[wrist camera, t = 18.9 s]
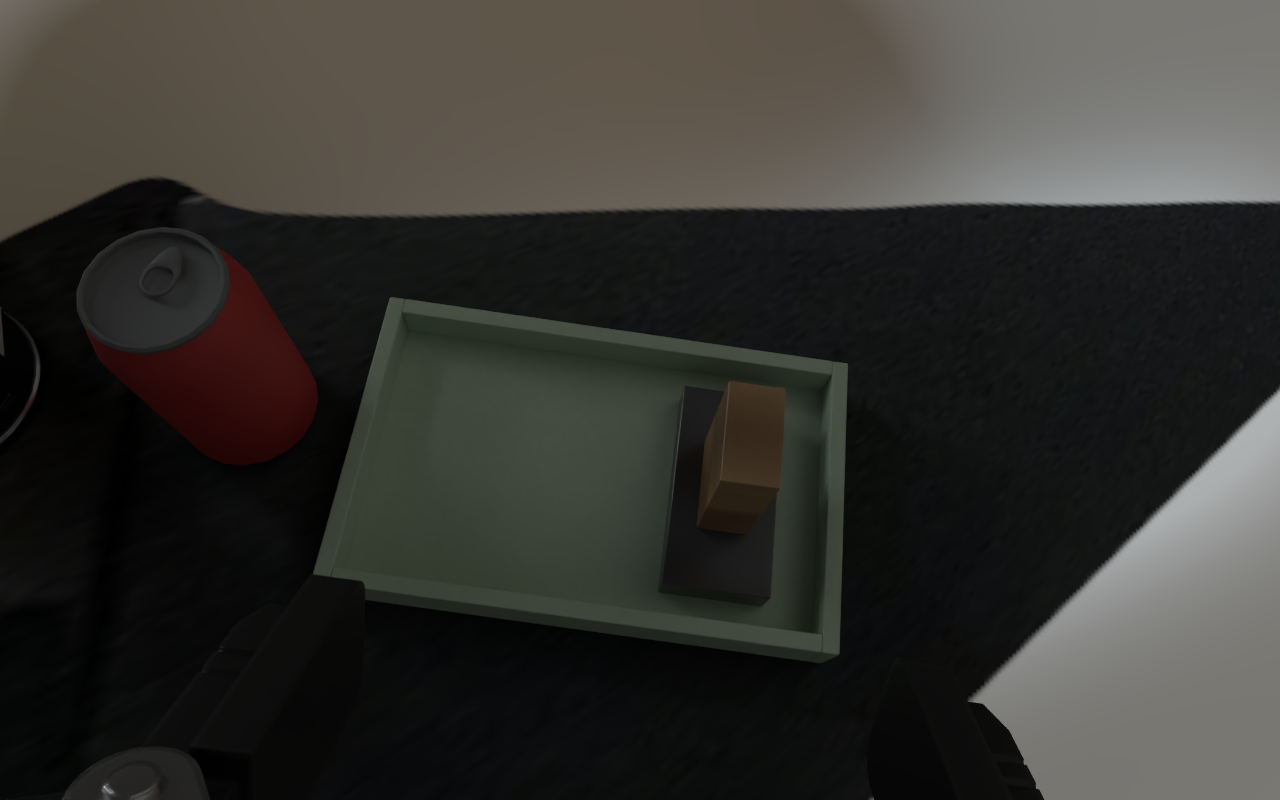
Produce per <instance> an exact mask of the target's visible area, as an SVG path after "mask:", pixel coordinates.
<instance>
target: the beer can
mask: <svg viewBox="0 0 1280 800" xmlns="http://www.w3.org/2000/svg"><path fill="white" fill-rule="evenodd" d="M77 312H78V314H79V317H80V319H81V321H82V323H83V325H84V328H85V329H86V332H87V334H88V337H89V339H90V341H91V343H92V345H93V348H94V350H95V352H96V354H97V356H98V358H99V360H100V362H101V363H102V364H104V365H105V366H106V367H107V368H108V369H109V370H110V371H111V372H112V373H113V374H114V375H115V376H117V377H118V378H119V379H120V380H121V381H122V382H123V383H124V384H125V385H127V386H128V387H129V388H130V389H131V390H132V391H133V392H134V393H136V394H137V395H138V396H139V397H140V398H141V399H142V400H143V401H145V402H146V403H147V404H148V405H149V406H150V407H151V408H152V409H153V410H155V411H156V412H157V413H158V414H159V415H160V416H161V417H162V418H164V419H165V420H166V421H167V422H168V423H169V424H170V425H171V426H172V427H174V428H175V429H176V430H177V431H178V432H179V433H180V434H181V435H183V436H184V437H185V438H186V439H187V440H188V441H189V442H190V443H191V444H193V445H194V446H195V447H196V448H197V449H198V450H199V451H200V452H202V453H203V454H204V455H205V456H207V457H209V458H212V459H214V460H217V461H219V462H221V463H224V464H235V465H250V464H254V463H259V462H264V461H269V460H271V459H273V458H274V457H276V456H278V455H280V454H282V453H284V452H286V451H288V450H289V449H290V448H291V447H292V446H293V445H295V444H296V443H297V442H298V441H299V440H300V439H301V438H302V437H303V436H304V434H305V433H306V431H307V429H308V428H309V426H310V424H311V423H312V421H313V419H314V417H315V412H316V408H317V404H318V392H317V385H316V380H315V379H314V377H313V375H312V373H311V371H310V369H309V368H308V366H307V364H306V363H305V361H304V359H303V358H302V356H301V355H300V353H299V351H298V350H297V348H296V347H295V345H294V343H293V342H292V340H291V339H290V337H289V336H288V334H287V332H286V331H285V329H284V328H283V326H282V324H281V323H280V321H279V320H278V318H277V316H276V315H275V313H274V312H273V310H272V308H271V307H270V305H269V304H268V302H267V301H266V299H265V297H264V296H263V294H262V293H261V291H260V289H259V288H258V286H257V285H256V283H255V281H254V280H253V278H252V277H251V275H250V273H249V272H248V271H247V270H246V269H245V268H243V267H242V266H241V265H240V264H239V263H237V262H236V261H235V260H234V259H233V258H231V257H230V256H229V255H228V254H226V253H225V252H224V251H222V250H220V249H218V248H216V247H215V246H214V245H213V244H212V243H210V242H209V241H208V240H207V239H206V238H204V237H203V236H200V235H197V234H195V233H192V232H190V231H187V230H185V229H174V228H163V227H161V228H155V229H149V230H143V231H138V232H135V233H133V234H131V235H128V236H126V237H123V238H121V239H119V240H116V241H115V242H114V243H112V244H111V245H110V246H108V247H107V248H106V249H104V250H103V251H102V252H100V253H99V254H98V255H97V256H96V257H95V258H94V260H93V261H92V262H91V263H90V265H89V266H88V267H87V269H86V270H85V271H84V273H83V276H82V278H81V281H80V284H79V286H78V289H77Z"/></svg>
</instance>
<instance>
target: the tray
mask: <svg viewBox="0 0 1280 800" xmlns="http://www.w3.org/2000/svg"><path fill="white" fill-rule="evenodd" d="M847 375H848V364H846V363H839V362H833V363H832V361H825V360H819V359H812V358H805V357H798V356H791V355H784V354H778V353H771V352H764V351H757V350H750V349H743V348H736V347H730V346H723V345H716V344H709V343H702V342H695V341H689V340H682V339H675V338H668V337H661V336H654V335H647V334H641V333H634V332H627V331H620V330H613V329H606V328H600V327H593V326H586V325H579V324H572V323H565V322H559V321H552V320H545V319H538V318H531V317H524V316H517V315H511V314H504V313H497V312H490V311H483V310H476V309H470V308H463V307H456V306H449V305H442V304H435V303H428V302H422V301H415V300H408V299H406V300H404V299H399V298H393V297H391V298H390V300H389V303H388V307H387V310H386V314H385V318H384V321H383V325H382V328H381V332H380V336H379V339H378V343H377V346H376V350H375V353H374V357H373V361H372V364H371V368H370V371H369V375H368V379H367V382H366V386H365V389H364V393H363V396H362V400H361V404H360V407H359V411H358V414H357V418H356V422H355V425H354V429H353V432H352V436H351V439H350V443H349V447H348V450H347V454H346V457H345V461H344V465H343V468H342V472H341V475H340V479H339V482H338V486H337V490H336V493H335V497H334V500H333V504H332V508H331V511H330V515H329V518H328V522H327V525H326V529H325V533H324V536H323V540H322V543H321V547H320V551H319V554H318V558H317V561H316V565H315V568H314V572H313V574H315V575H322V576H329V577H336V578H343V579H351V580H358V581H362V582H363V583H364V585H365V600H370V601H378V602H385V603H392V604H399V605H406V606H414V607H421V608H428V609H435V610H442V611H449V612H457V613H464V614H471V615H478V616H485V617H493V618H500V619H507V620H514V621H521V622H528V623H536V624H543V625H550V626H557V627H564V628H572V629H579V630H586V631H593V632H600V633H607V634H615V635H622V636H629V637H636V638H643V639H651V640H658V641H665V642H672V643H679V644H686V645H694V646H701V647H708V648H715V649H722V650H730V651H737V652H744V653H751V654H758V655H766V656H773V657H780V658H787V659H794V660H801V661H809V662H816V663H823V662H825V661H827V660H829V659H831V658H833V657H835V656H838V655H839V649H840V614H841V580H842V546H843V512H844V478H845V444H846V409H847ZM729 381H736V382H743V383H750V384H757V385H764V386H771V387H778V388H785V389H786V401H785V418H784V435H783V452H782V468H781V485H780V490H779V491H778V492H777V502H776V518H775V535H774V551H773V568H772V584H771V598H770V599H769V600H768V601H767V602H766V603H765V604H764V605H763V606H761V607H760V606H753V605H746V604H739V603H731V602H724V601H717V600H710V599H703V598H695V597H688V596H681V595H674V594H667V593H659V592H658V586H659V577H660V568H661V559H662V551H663V542H664V533H665V524H666V515H667V507H668V498H669V489H670V480H671V472H672V463H673V454H674V445H675V436H676V428H677V419H678V410H679V402H680V398H681V395H682V391H683V388H684V386H690V387H697V388H704V389H711V390H718V391H725V390H726V387H727V385H728V383H729Z"/></svg>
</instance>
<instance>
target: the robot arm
mask: <svg viewBox="0 0 1280 800" xmlns="http://www.w3.org/2000/svg"><path fill="white" fill-rule="evenodd" d="M45 383H46V364H45V359H44V355H43V352H42V349H41V347H40V345H39V343H38V342H37V340H36V338H35V337H34V336H33V335H32V333H31V332H30V331H29V330H28V329H27V328H26V327H24V326H23V325H22V324H21V323H20V322H18V321H17V320H16V319H15V318H13V317H12V316H10V315H9V314H7V313H5V312H3V311H2V310H1V307H0V452H1V451H3V450H4V449H5V448H6V447H7V446H8V445H10V444H11V443H12V442H13V441H14V440H15V439H16V438H17V437H18V436H19V435H20V434H21V432H22V431H23V430H24V429H25V428H26V426H27V425H28V423H29V422H30V421H31V419H32V418H33V416H34V414H35V412H36V410H37V408H38V406H39V404H40V402H41V399H42V396H43V393H44V388H45ZM364 623H365V585H364V583H363V582H362V581H358V580H351V579H343V578H336V577H329V576H322V575H315V574H313V575H310V576H309V577H308V578H307V580H306V581H305V582H304V584H303V585H302V587H301V588H300V590H299V591H298V592H297V594H296V595H295V597H294V598H293V599H292V601H291V602H290V604H289V605H288V606H285V605H278V604H271V603H267V604H266V605H264V606H262V607H261V608H259V609H258V610H256V611H254V612H253V613H251V614H250V615H248V616H246V617H245V618H243V619H242V620H240V621H239V622H237V623H236V624H235V626H234V627H233V628H232V630H231V631H230V632H229V633H228V635H227V636H226V637H225V639H224V640H223V641H222V642H221V644H220V645H219V646H218V650H217V652H214V653H213V654H212V655H211V657H210V658H209V659H208V660H207V662H206V663H205V664H204V666H203V667H202V671H201V673H199V672H198V673H197V675H196V676H195V677H194V678H193V680H192V681H191V682H190V684H189V685H188V686H187V687H186V689H185V690H184V691H183V693H182V694H181V695H180V696H179V698H178V699H177V700H176V702H175V703H174V704H173V705H172V707H171V708H170V709H169V711H168V712H167V713H166V714H165V716H164V717H163V718H162V720H161V721H160V722H159V723H158V725H157V726H156V727H155V729H154V730H153V731H152V732H151V734H150V735H149V736H148V738H147V739H146V740H145V741H144V743H143V744H142V745H141V747H140V748H135V749H130V750H126V751H123V752H120V753H117V754H114V755H112V756H110V757H107V758H105V759H103V760H101V761H99V762H98V763H96V764H94V765H93V766H91V767H90V768H88V769H87V770H86V771H84V772H83V773H82V774H81V775H80V776H79V777H78V778H77V779H76V780H75V781H74V782H73V783H72V784H71V785H70V787H69V788H68V789H67V791H64V792H60V793H54V794H48V795H40V796H32V797H24V798H15V799H7V800H308V798H309V796H310V794H311V792H312V790H313V788H314V786H315V784H316V782H317V780H318V778H319V776H320V774H321V772H322V770H323V768H324V766H325V764H326V762H327V760H328V758H329V756H330V753H331V751H332V749H333V747H334V745H335V743H336V741H337V739H338V737H339V735H340V733H341V731H342V729H343V727H344V725H345V723H346V721H347V719H348V717H349V715H350V713H351V711H352V709H353V706H354V704H355V701H356V698H357V695H358V691H359V687H360V683H361V678H362V671H363V653H364ZM1023 761H1024V759H1023V757H1022V755H1021V753H1020V751H1019V749H1018V747H1017V745H1016V743H1015V741H1014V739H1013V737H1012V735H1011V733H1010V732H1009V730H1008V729H1007V728H1006V727H1005V726H1004V725H1003V724H1002V723H1001V722H1000V721H999V720H998V719H997V718H996V717H995V716H994V715H993V714H992V713H991V712H990V711H989V710H988V709H987V708H986V707H985V706H984V705H983V704H981V703H973V702H968V701H967V699H966V697H965V695H964V693H963V691H962V689H961V686H960V684H959V682H958V680H957V678H956V676H955V674H954V671H953V670H952V668H951V667H950V666H949V665H948V664H942V663H935V662H928V661H921V660H914V659H906V658H896V659H895V660H894V662H893V663H892V666H891V668H890V671H889V674H888V678H887V681H886V684H885V688H884V691H883V694H882V698H881V701H880V704H879V708H878V711H877V714H876V718H875V721H874V724H873V728H872V731H871V734H870V738H869V743H868V752H867V770H868V778H869V783H870V786H871V790H872V794H873V797H874V800H1044V798H1043V796H1042V794H1041V792H1040V790H1038V789H1036V782H1035V780H1034V778H1033V777H1032V775H1031V773H1030V771H1029V769H1028V767H1027V765H1024V763H1023Z"/></svg>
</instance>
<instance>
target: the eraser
mask: <svg viewBox="0 0 1280 800" xmlns="http://www.w3.org/2000/svg"><path fill="white" fill-rule="evenodd" d="M785 401H786V389H785V388H778V387H771V386H764V385H757V384H750V383H743V382H736V381H729V383H728V385H727V387H726V390H725V391H718V390H711V389H704V388H697V387H690V386H684V388H683V391H682V395H681V398H680V402H679V410H678V419H677V428H676V436H675V445H674V454H673V463H672V472H671V480H670V489H669V498H668V507H667V515H666V524H665V533H664V542H663V551H662V559H661V568H660V577H659V586H658V592H659V593H667V594H674V595H681V596H688V597H695V598H703V599H710V600H717V601H724V602H731V603H739V604H746V605H753V606H760V607H761V606H763V605H764V604H765V603H766V602H767V601H768V600H769V599H770V598H771V584H772V568H773V551H774V535H775V518H776V502H777V492H778V491H779V490H780V485H781V468H782V452H783V435H784V418H785Z"/></svg>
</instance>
